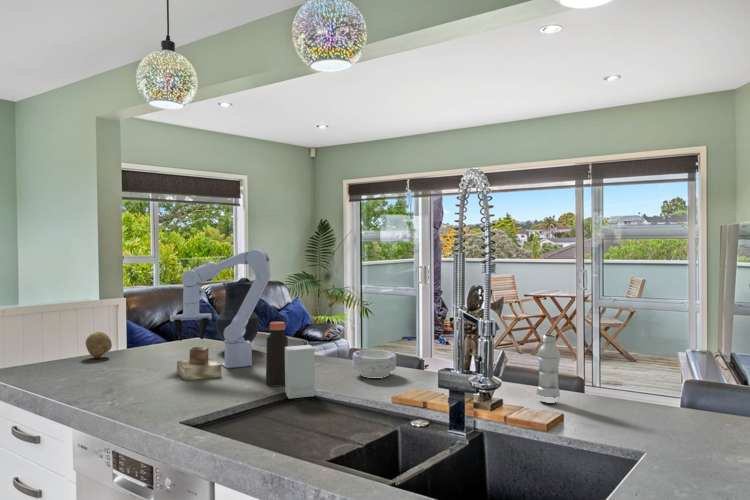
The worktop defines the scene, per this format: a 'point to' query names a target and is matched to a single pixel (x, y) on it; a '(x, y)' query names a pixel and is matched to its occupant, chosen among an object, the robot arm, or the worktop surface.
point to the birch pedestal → (198, 370)
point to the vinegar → (276, 354)
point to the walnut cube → (198, 356)
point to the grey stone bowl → (374, 362)
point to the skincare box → (299, 371)
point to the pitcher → (236, 309)
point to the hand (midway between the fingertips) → (190, 339)
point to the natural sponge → (98, 344)
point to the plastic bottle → (548, 367)
